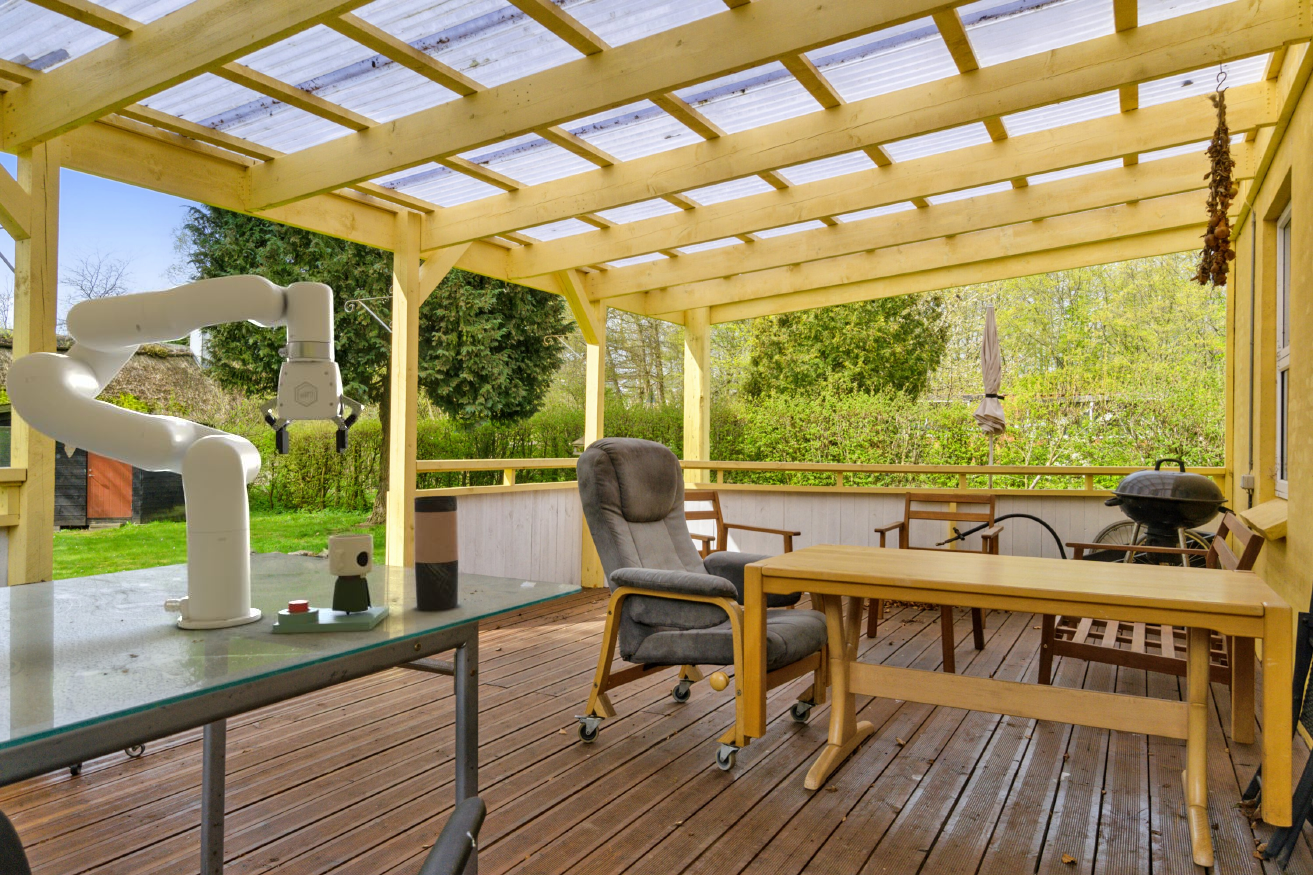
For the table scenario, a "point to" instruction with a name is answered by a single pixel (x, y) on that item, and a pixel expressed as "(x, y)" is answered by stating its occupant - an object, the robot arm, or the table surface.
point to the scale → (328, 620)
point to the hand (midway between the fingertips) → (312, 453)
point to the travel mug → (436, 552)
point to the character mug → (350, 571)
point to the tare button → (298, 606)
